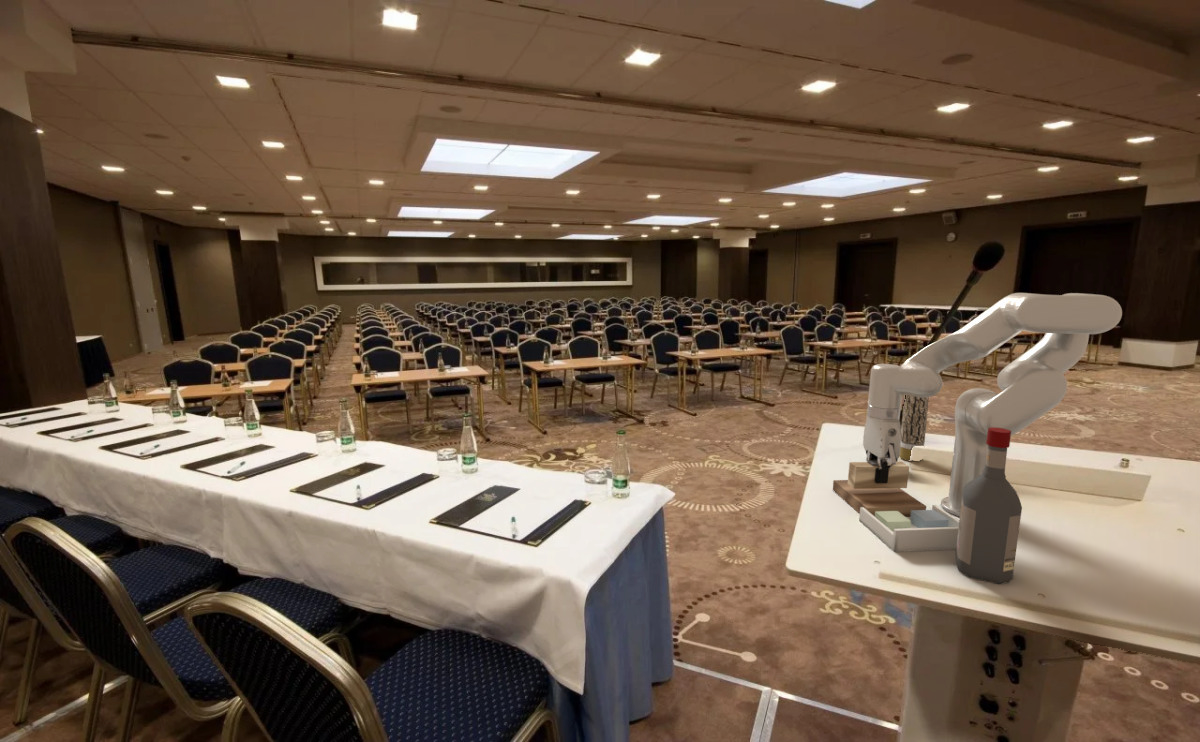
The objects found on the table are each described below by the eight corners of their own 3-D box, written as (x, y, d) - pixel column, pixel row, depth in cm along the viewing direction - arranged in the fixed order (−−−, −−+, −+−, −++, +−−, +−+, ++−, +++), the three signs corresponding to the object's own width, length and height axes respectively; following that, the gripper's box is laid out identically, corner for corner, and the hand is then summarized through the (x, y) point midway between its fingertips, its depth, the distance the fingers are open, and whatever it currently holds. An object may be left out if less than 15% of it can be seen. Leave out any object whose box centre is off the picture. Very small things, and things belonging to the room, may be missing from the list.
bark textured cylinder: (894, 457, 176) (900, 382, 172) (907, 454, 179) (914, 380, 174) (913, 463, 170) (920, 386, 166) (927, 460, 173) (935, 384, 168)
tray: (978, 548, 118) (980, 527, 118) (893, 551, 118) (895, 530, 117) (934, 518, 133) (936, 499, 132) (859, 520, 133) (860, 501, 132)
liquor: (956, 575, 108) (973, 433, 103) (954, 555, 116) (969, 421, 111) (1013, 588, 104) (1033, 439, 98) (1006, 566, 112) (1025, 427, 106)
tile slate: (947, 532, 125) (948, 520, 124) (924, 532, 125) (925, 520, 124) (932, 521, 130) (933, 509, 130) (910, 522, 130) (911, 510, 130)
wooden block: (906, 488, 140) (909, 464, 139) (854, 488, 140) (856, 464, 138) (899, 482, 143) (901, 459, 142) (847, 483, 143) (849, 459, 142)
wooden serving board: (925, 517, 134) (926, 506, 133) (866, 519, 133) (867, 508, 133) (885, 488, 151) (885, 478, 151) (832, 490, 151) (833, 480, 150)
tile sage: (910, 533, 125) (911, 521, 124) (886, 534, 125) (887, 522, 124) (896, 522, 130) (897, 510, 130) (874, 523, 130) (875, 511, 129)
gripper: (917, 421, 130) (909, 492, 133) (880, 404, 146) (873, 468, 149) (887, 421, 129) (879, 492, 133) (852, 404, 146) (847, 468, 149)
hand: (876, 479), depth 141 cm, fingers closed on wooden block, 3 cm apart
